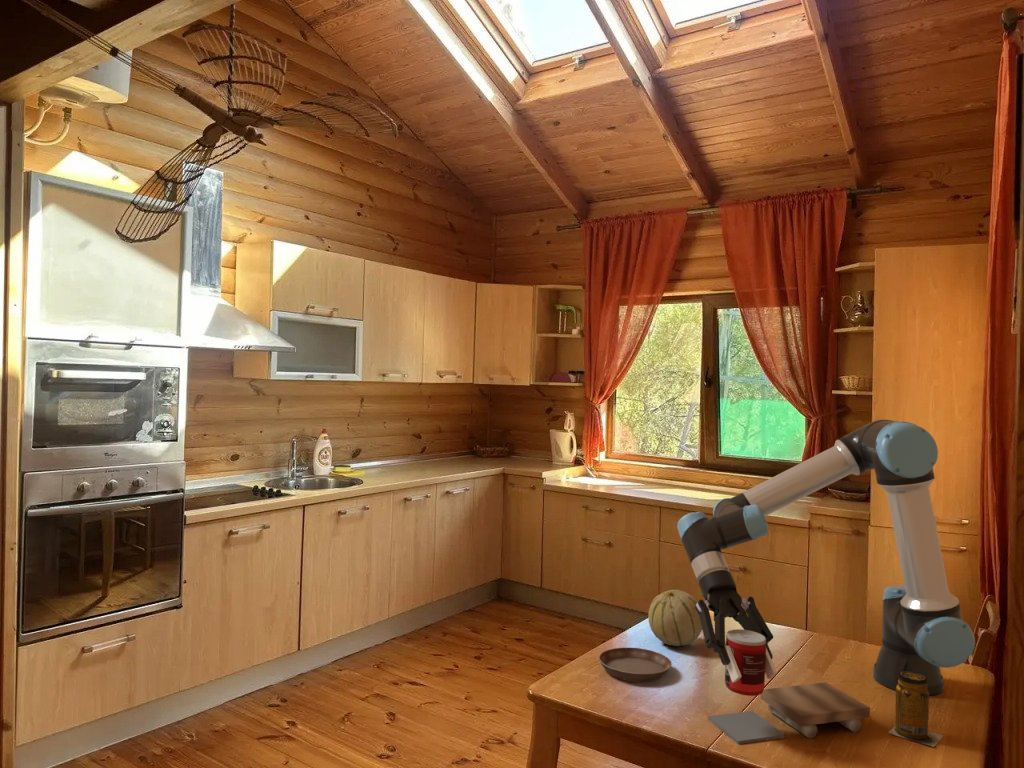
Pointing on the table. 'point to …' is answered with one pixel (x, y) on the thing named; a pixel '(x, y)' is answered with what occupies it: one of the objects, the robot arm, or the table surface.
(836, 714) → the walnut slab
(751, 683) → the canned food
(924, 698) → the condiment
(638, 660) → the plant saucer
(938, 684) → the robot arm
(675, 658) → the table surface
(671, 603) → the cantaloupe
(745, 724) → the rubber mat
